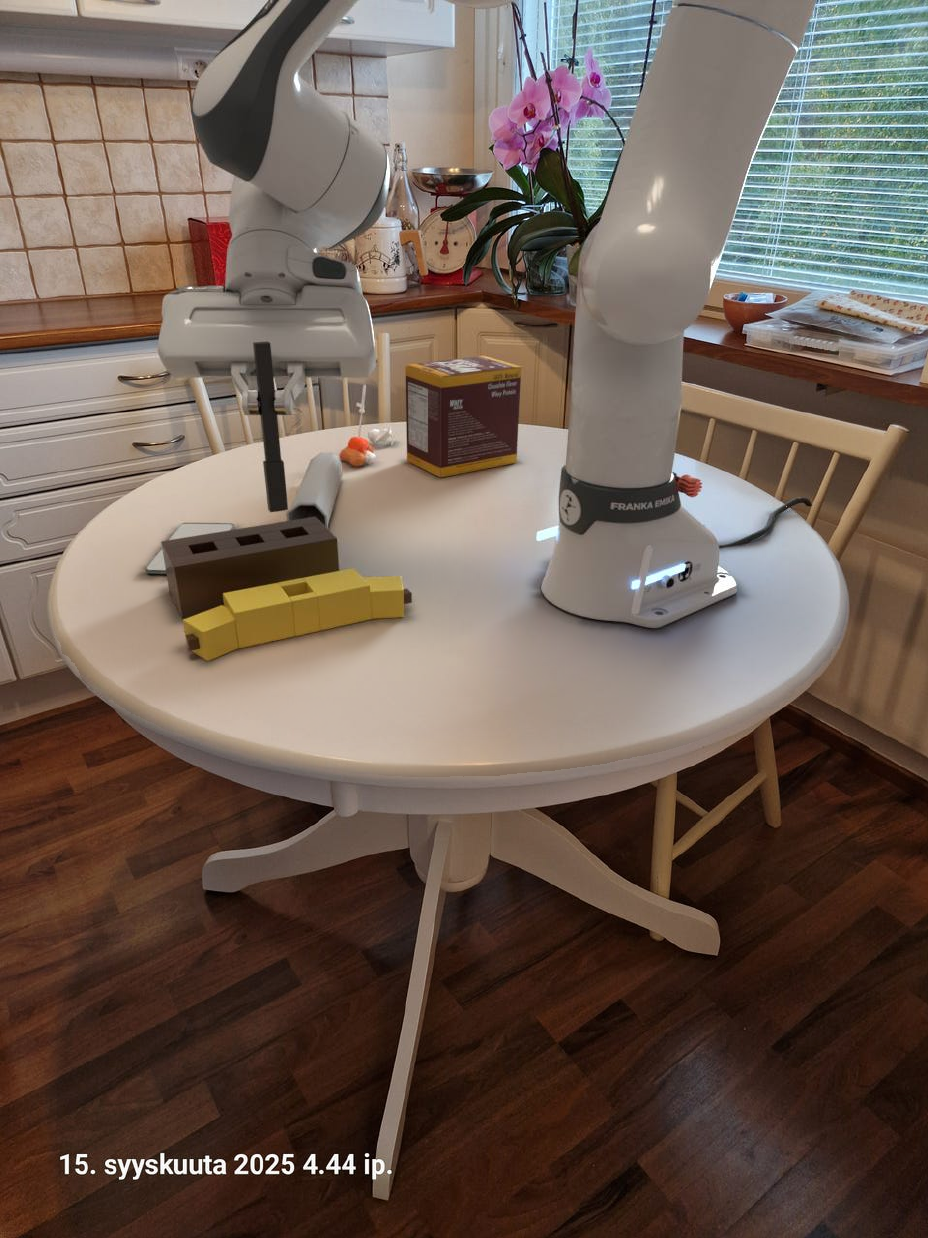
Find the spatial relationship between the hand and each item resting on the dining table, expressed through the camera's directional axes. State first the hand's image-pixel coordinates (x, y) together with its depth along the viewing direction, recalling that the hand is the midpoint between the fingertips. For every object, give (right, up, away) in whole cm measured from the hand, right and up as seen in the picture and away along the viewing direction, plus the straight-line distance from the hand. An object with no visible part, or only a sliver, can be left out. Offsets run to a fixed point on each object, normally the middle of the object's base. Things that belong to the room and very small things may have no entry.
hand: (267, 412), depth 76 cm
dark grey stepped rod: (0, -8, +5) cm, 10 cm away
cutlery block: (-5, -16, +16) cm, 23 cm away
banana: (+1, -20, +9) cm, 22 cm away
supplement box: (+18, +6, +59) cm, 62 cm away
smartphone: (-15, -11, +25) cm, 31 cm away
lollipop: (+1, +7, +59) cm, 59 cm away
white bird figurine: (+4, +11, +67) cm, 68 cm away
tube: (-2, -4, +39) cm, 39 cm away
